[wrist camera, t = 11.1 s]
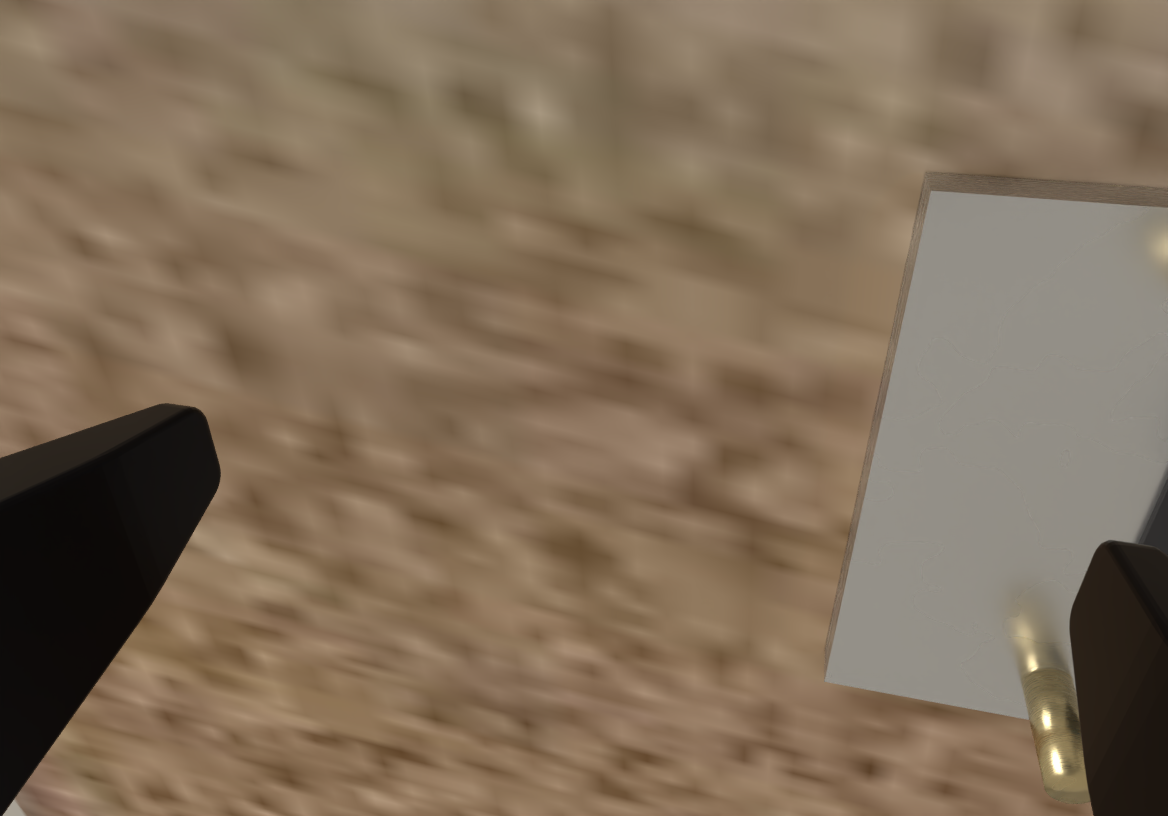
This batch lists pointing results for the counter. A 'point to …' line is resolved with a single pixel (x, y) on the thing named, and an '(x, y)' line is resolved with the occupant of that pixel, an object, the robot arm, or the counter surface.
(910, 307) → the chassis plate
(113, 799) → the counter surface
